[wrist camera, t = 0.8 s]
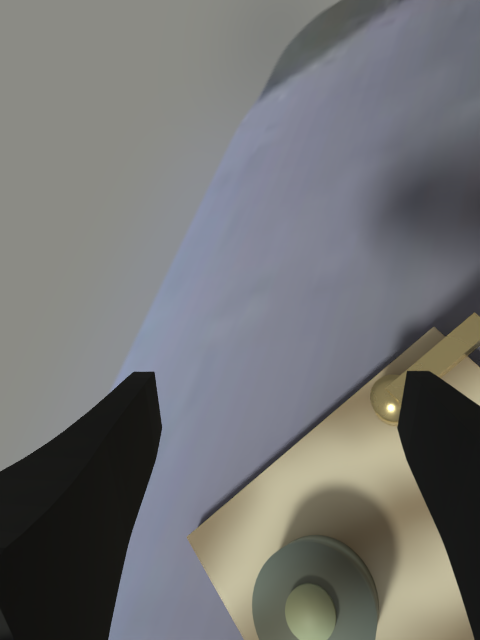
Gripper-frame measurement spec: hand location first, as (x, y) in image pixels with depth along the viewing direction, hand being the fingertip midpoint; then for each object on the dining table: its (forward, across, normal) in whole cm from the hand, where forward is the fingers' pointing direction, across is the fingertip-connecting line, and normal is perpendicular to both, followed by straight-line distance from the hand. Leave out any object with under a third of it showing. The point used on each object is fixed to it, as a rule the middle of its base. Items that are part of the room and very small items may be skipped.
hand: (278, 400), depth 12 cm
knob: (+11, -9, +7) cm, 16 cm away
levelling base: (+6, -7, +14) cm, 17 cm away
